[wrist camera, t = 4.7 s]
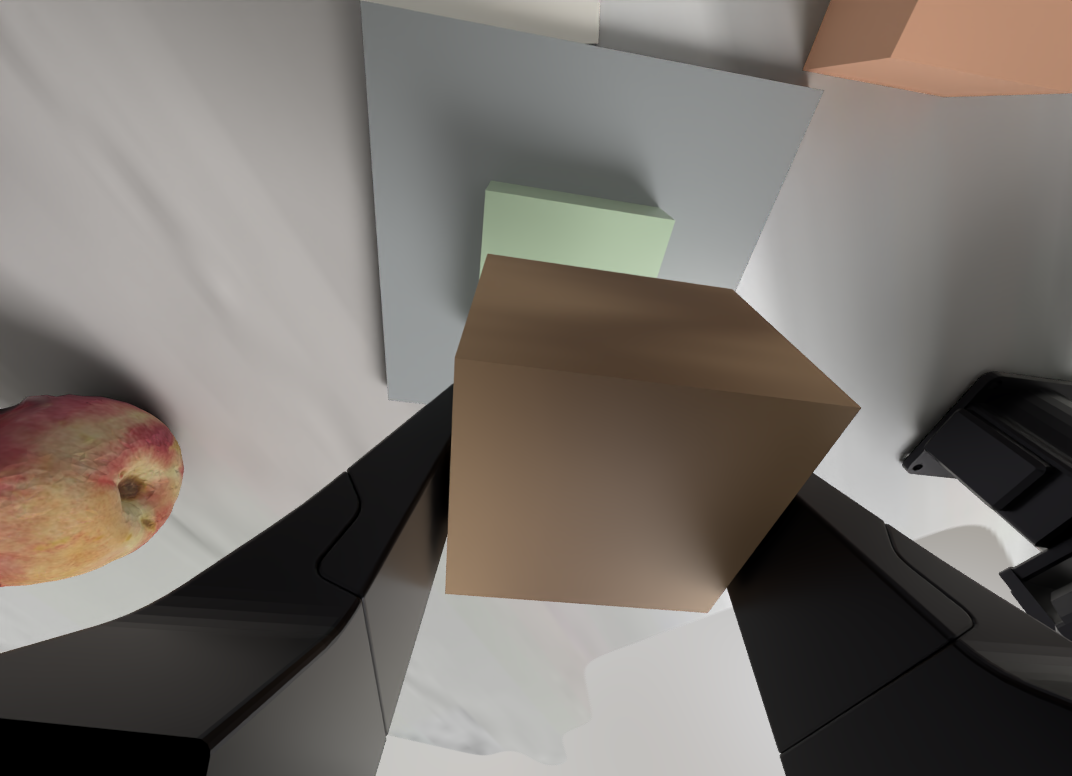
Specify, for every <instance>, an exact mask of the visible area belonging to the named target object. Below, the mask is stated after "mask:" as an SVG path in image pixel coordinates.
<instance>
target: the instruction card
mask: <svg viewBox="0 0 1072 776" xmlns="http://www.w3.org/2000/svg"><path fill="white" fill-rule="evenodd" d="M362 1H367V2H372V3H377V4H382V5H387V6H393V7H398V8H403V9H408V10H413V11H418V12H423V13H429V14H434V15H439V16H444V17H449V18H454V19H459V20H465V21H470V22H475V23H480V24H485V25H490V26H495V27H500V28H506V29H511V30H516V31H521V32H526V33H531V34H536V35H542V36H547V37H552V38H557V39H562V40H567V41H572V42H578V43H583V44H598V40H599V18H600V0H362Z"/></svg>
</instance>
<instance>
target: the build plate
mask: <svg viewBox="0 0 1072 776" xmlns="http://www.w3.org/2000/svg"><path fill="white" fill-rule="evenodd" d="M360 5H361V19H362V33H363V47H364V61H365V76H366V90H367V104H368V118H369V132H370V147H371V161H372V175H373V189H374V203H375V218H376V232H377V246H378V260H379V274H380V289H381V303H382V317H383V331H384V345H385V360H386V374H387V388H388V400H392V401H401V402H410V403H419V404H428V403H429V402H431V401H432V400H433V399H434V398H435V397H437V396H438V395H439V394H440V393H442V392H443V391H444V390H445V389H447V388H448V387H449V386H450V385H451V384H453V383H454V360H455V355H456V352H457V349H458V346H459V342H460V339H461V336H462V333H463V330H464V326H465V323H466V320H467V317H468V314H469V311H470V307H471V304H472V301H473V298H474V295H475V292H476V288H477V285H478V282H479V279H480V276H481V272H482V269H483V266H484V263H485V260H486V257H487V253H488V254H494V255H501V256H508V257H515V258H522V259H529V260H536V261H543V262H549V263H556V264H563V265H570V266H577V267H584V268H591V269H598V270H605V271H611V272H618V273H625V274H632V275H639V276H646V277H653V278H660V279H666V280H673V281H680V282H687V283H694V284H701V285H708V286H715V287H721V288H728V289H733V290H734V291H736V289H737V286H738V284H739V282H740V280H741V277H742V275H743V273H744V271H745V268H746V266H747V264H748V262H749V259H750V257H751V255H752V252H753V250H754V248H755V246H756V243H757V241H758V239H759V237H760V234H761V232H762V230H763V228H764V225H765V223H766V221H767V219H768V216H769V214H770V212H771V209H772V207H773V205H774V203H775V200H776V198H777V196H778V194H779V191H780V189H781V187H782V185H783V182H784V180H785V178H786V175H787V173H788V171H789V169H790V166H791V164H792V162H793V160H794V157H795V155H796V153H797V151H798V148H799V146H800V144H801V142H802V139H803V137H804V135H805V132H806V130H807V128H808V126H809V123H810V121H811V119H812V117H813V114H814V112H815V110H816V108H817V105H818V103H819V101H820V99H821V96H822V94H823V92H824V90H819V89H814V88H809V87H804V86H798V85H793V84H788V83H783V82H778V81H773V80H768V79H762V78H757V77H752V76H747V75H742V74H737V73H732V72H726V71H721V70H716V69H711V68H706V67H701V66H696V65H691V64H685V63H680V62H675V61H670V60H665V59H660V58H655V57H649V56H644V55H639V54H634V53H629V52H624V51H619V50H613V49H608V48H603V47H598V46H593V45H588V44H583V43H578V42H572V41H567V40H562V39H557V38H552V37H547V36H542V35H536V34H531V33H526V32H521V31H516V30H511V29H506V28H500V27H495V26H490V25H485V24H480V23H475V22H470V21H465V20H459V19H454V18H449V17H444V16H439V15H434V14H429V13H423V12H418V11H413V10H408V9H403V8H398V7H393V6H387V5H382V4H377V3H372V2H367V1H362V0H360Z"/></svg>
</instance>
